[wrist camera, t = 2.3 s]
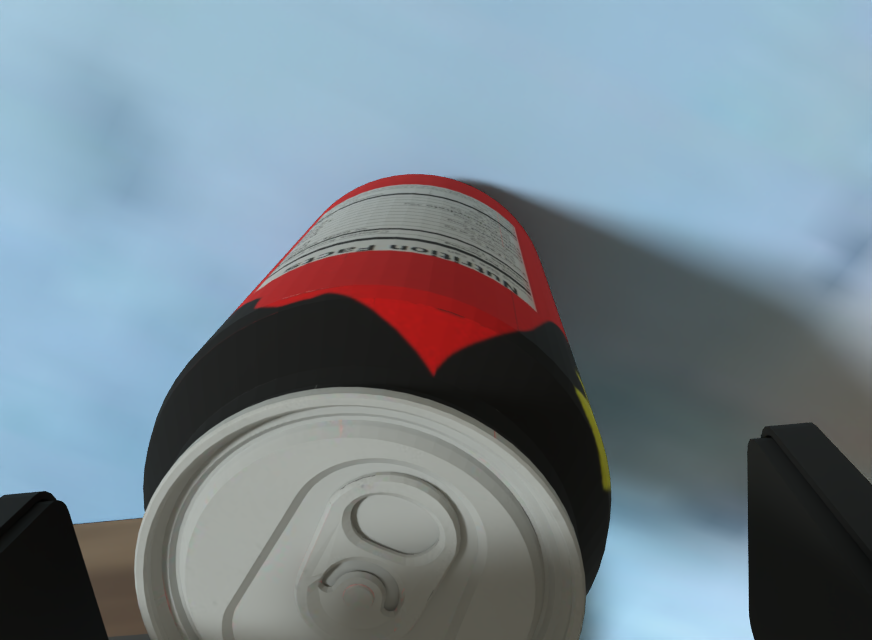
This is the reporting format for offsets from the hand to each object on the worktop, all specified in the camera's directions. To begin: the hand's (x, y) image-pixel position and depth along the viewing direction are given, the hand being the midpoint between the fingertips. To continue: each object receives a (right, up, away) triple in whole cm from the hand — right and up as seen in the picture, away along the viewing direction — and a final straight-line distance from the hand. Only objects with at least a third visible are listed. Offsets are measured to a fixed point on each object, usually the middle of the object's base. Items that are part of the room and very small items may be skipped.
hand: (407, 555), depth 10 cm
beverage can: (0, +4, +10) cm, 11 cm away
